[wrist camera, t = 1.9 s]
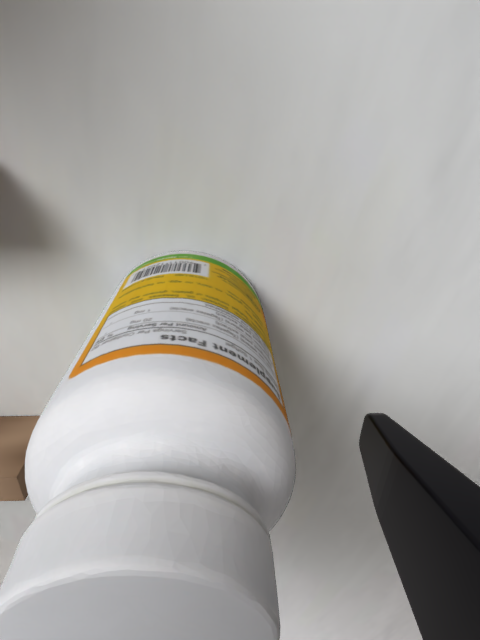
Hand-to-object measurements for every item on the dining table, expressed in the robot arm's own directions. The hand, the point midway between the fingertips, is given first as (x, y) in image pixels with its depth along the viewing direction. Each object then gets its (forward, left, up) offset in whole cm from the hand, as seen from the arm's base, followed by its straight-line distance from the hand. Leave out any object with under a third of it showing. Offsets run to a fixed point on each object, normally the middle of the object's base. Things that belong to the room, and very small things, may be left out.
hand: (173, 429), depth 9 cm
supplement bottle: (0, 0, -6) cm, 6 cm away
